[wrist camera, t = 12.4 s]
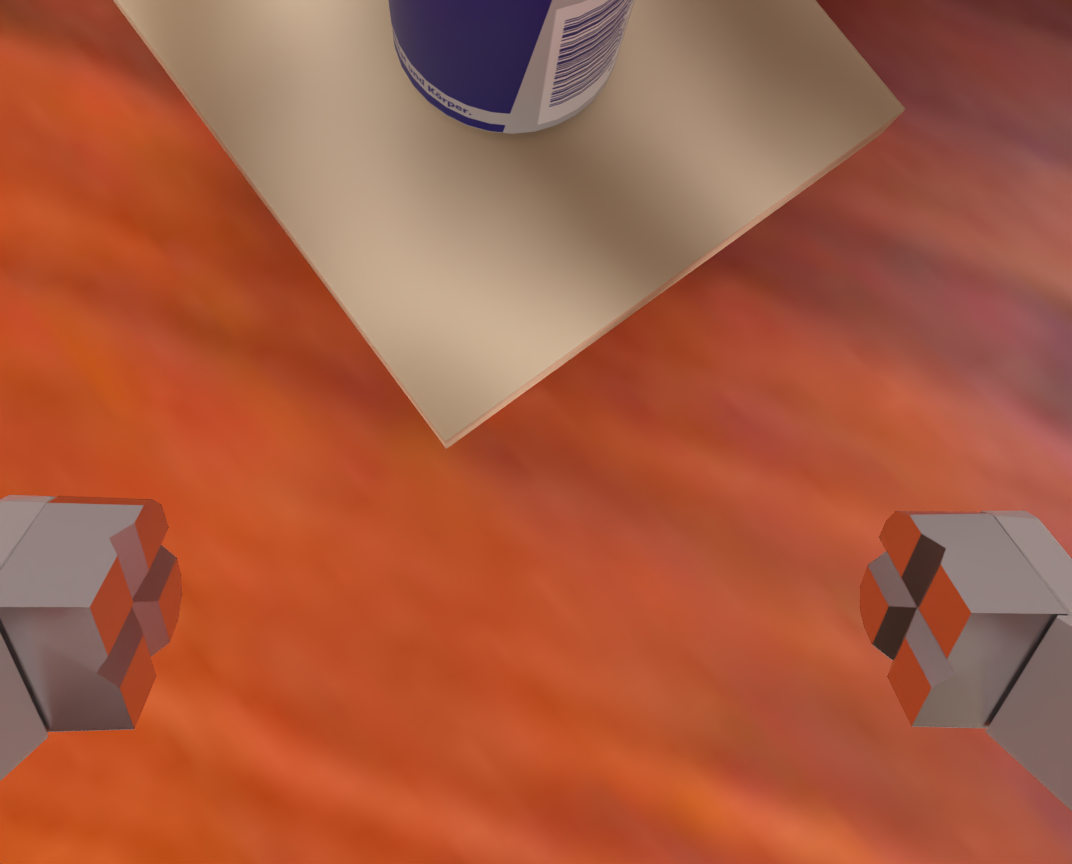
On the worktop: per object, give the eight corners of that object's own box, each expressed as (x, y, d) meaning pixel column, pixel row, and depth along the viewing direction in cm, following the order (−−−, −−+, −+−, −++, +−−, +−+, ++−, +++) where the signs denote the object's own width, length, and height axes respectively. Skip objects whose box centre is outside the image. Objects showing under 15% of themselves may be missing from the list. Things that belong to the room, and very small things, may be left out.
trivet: (544, -143, 26) (563, -305, 21) (819, 197, 25) (905, 109, 20) (164, 83, 24) (87, -40, 19) (448, 467, 23) (445, 441, 18)
